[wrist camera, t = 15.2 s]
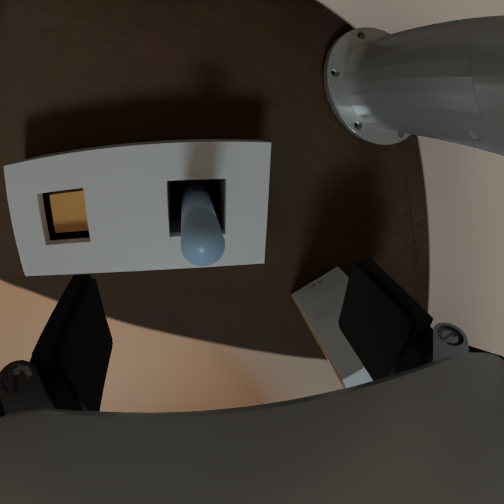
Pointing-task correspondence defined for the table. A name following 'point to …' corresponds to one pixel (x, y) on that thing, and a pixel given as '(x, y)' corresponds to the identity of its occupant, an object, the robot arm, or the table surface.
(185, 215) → the light blue rod
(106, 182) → the white board with holes
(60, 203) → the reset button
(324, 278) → the small box
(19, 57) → the table surface
